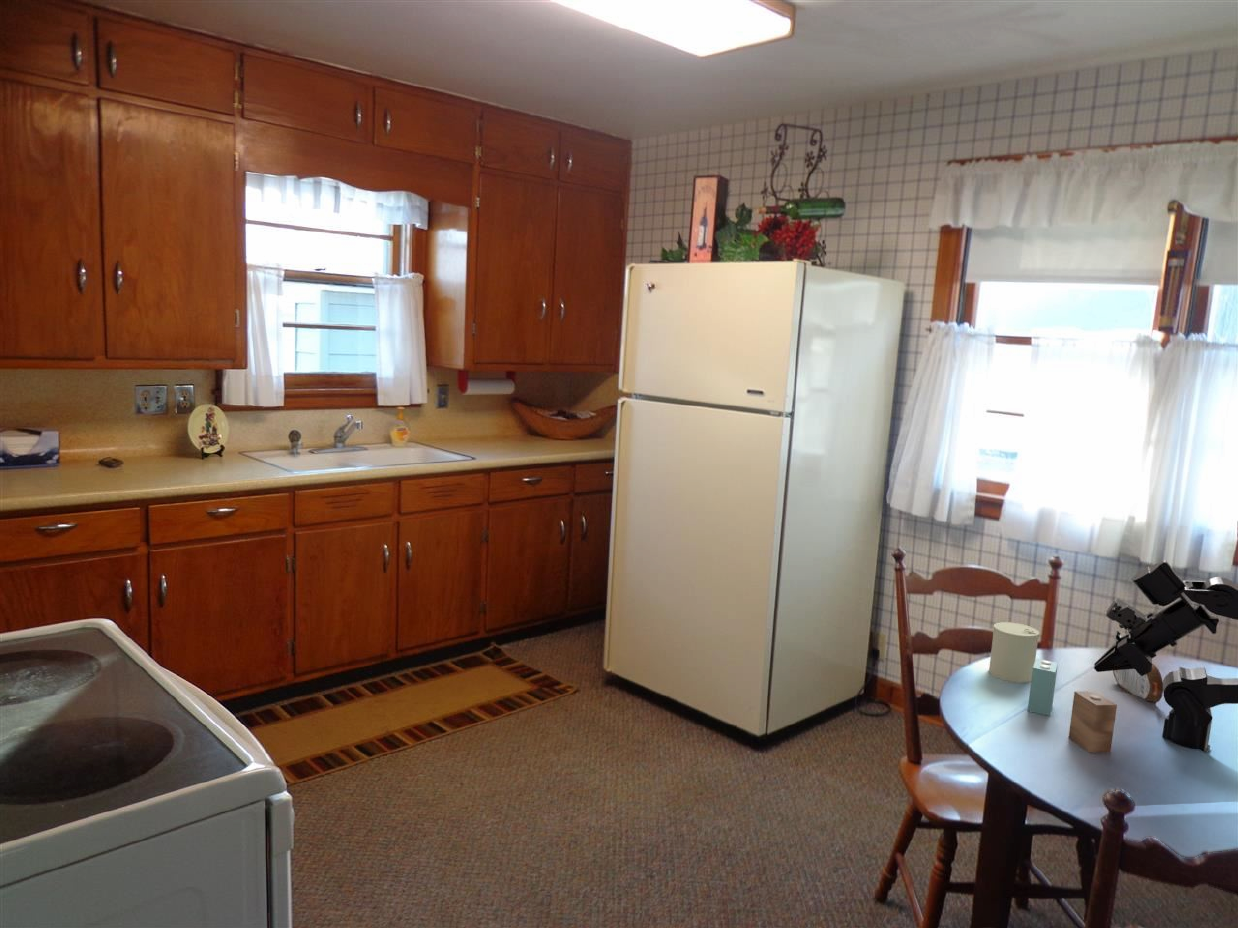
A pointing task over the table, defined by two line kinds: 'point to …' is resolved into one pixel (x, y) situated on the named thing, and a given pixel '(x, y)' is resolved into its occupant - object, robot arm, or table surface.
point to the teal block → (1042, 687)
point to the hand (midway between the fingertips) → (1095, 667)
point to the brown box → (1092, 721)
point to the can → (1013, 651)
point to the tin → (1141, 683)
